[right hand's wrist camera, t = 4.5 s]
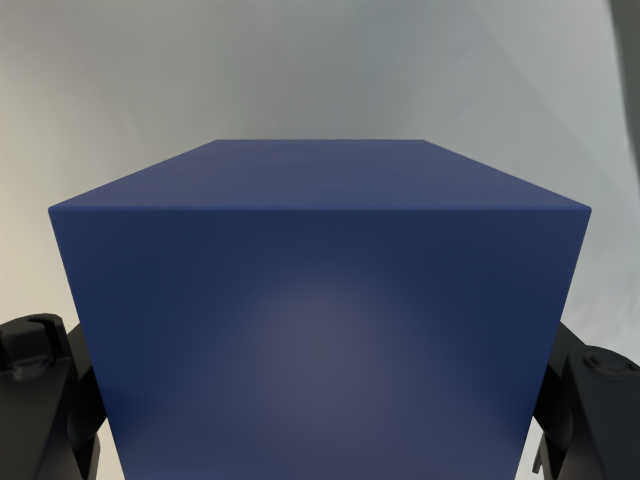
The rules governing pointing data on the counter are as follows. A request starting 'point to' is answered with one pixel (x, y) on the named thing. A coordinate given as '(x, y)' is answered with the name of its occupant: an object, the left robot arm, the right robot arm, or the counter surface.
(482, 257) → the block
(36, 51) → the counter surface
